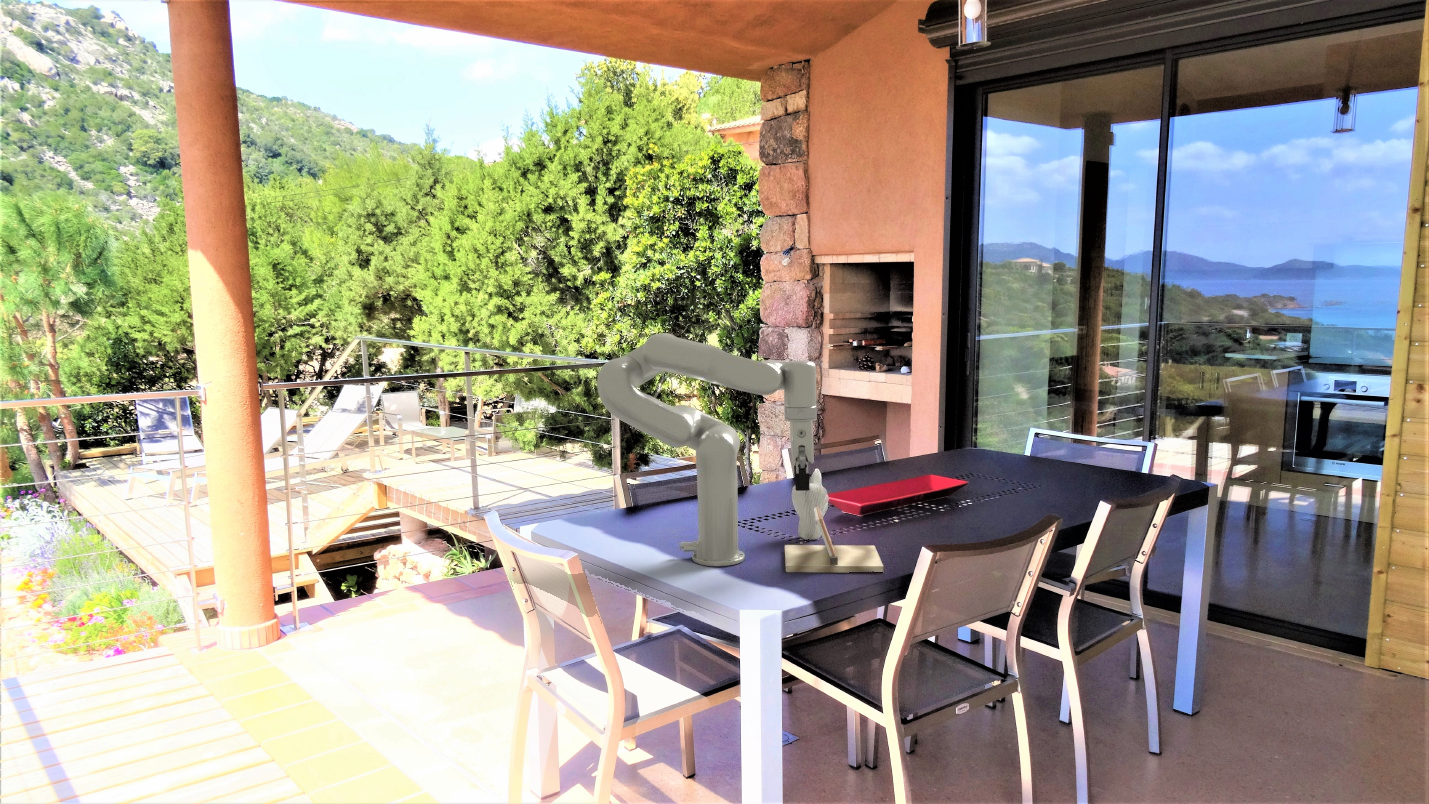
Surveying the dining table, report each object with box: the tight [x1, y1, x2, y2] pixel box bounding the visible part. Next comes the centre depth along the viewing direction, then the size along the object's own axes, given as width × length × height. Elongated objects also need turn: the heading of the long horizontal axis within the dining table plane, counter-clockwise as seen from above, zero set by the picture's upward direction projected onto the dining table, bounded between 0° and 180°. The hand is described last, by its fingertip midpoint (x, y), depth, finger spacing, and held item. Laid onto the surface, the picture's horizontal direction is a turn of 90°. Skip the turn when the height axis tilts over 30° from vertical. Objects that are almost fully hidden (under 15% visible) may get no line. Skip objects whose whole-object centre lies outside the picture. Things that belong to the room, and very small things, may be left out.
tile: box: [814, 506, 835, 556], centre depth 204 cm, size 10×12×1 cm
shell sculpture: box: [791, 468, 830, 541], centre depth 224 cm, size 8×8×18 cm
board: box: [784, 539, 884, 573], centre depth 204 cm, size 22×17×3 cm
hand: (801, 485), depth 203 cm, fingers open, 9 cm apart
